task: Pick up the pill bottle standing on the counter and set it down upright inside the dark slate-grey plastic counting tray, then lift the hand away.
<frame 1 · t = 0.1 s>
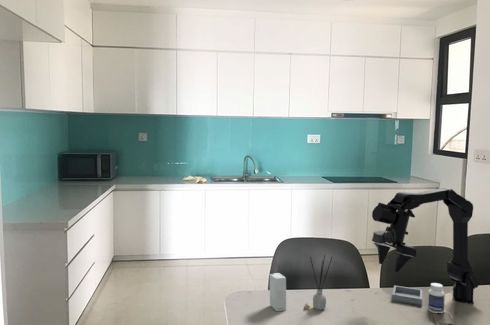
hand: (388, 267, 144), 15 cm above the table, tool pointing down, fingers open, 9 cm apart
reed diffuser: (318, 310, 144), on the table
counting tray: (407, 298, 156), on the table
skincare box: (277, 308, 146), on the table
pill bottle: (435, 311, 144), on the table
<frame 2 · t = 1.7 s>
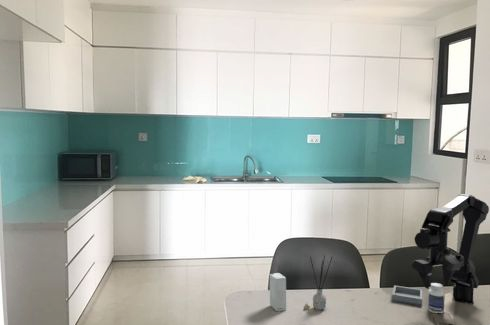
hand: (436, 286, 144), 9 cm above the table, tool pointing down, fingers open, 9 cm apart
nothing on the table moved.
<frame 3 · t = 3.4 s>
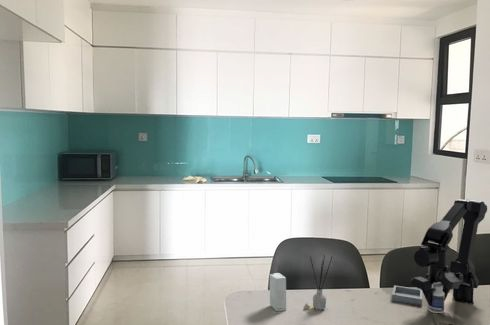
hand: (436, 304, 144), 3 cm above the table, tool pointing down, fingers closed on pill bottle, 5 cm apart
pill bottle: (435, 311, 144), on the table, touching gripper
everything else where it was.
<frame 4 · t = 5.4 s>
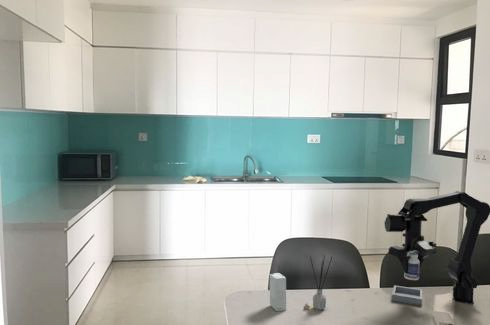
hand: (411, 271, 153), 11 cm above the table, tool pointing down, fingers closed on pill bottle, 5 cm apart
pill bottle: (411, 278, 153), point 8 cm above the table, touching gripper
everything else where it was.
when the fingers open (5 cm above the table, at t = 7.5 s): pill bottle drops 2 cm, resting on counting tray.
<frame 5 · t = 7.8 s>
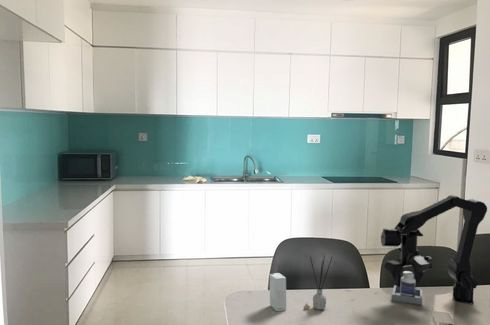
hand: (407, 285, 155), 5 cm above the table, tool pointing down, fingers open, 9 cm apart
pill bottle: (407, 297, 155), resting on counting tray
everything else where it was.
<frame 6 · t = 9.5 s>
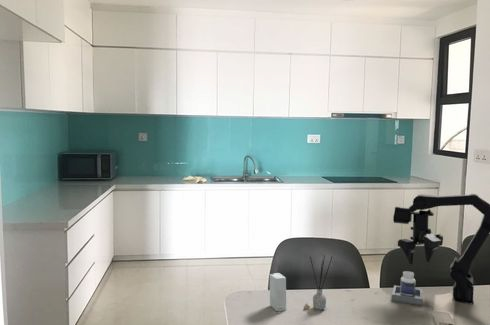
hand: (419, 263, 162), 12 cm above the table, tool pointing down, fingers open, 9 cm apart
nothing on the table moved.
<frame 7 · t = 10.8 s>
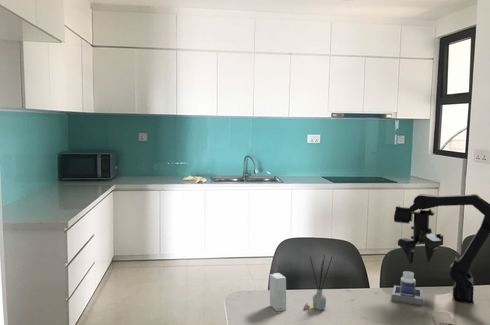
hand: (419, 262, 162), 12 cm above the table, tool pointing down, fingers open, 9 cm apart
nothing on the table moved.
at the end: pill bottle 0.1 cm off-centre on the counting tray, point 0.3 cm above the counting tray's base; pill bottle tilted 0°; the gripper is holding nothing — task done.
